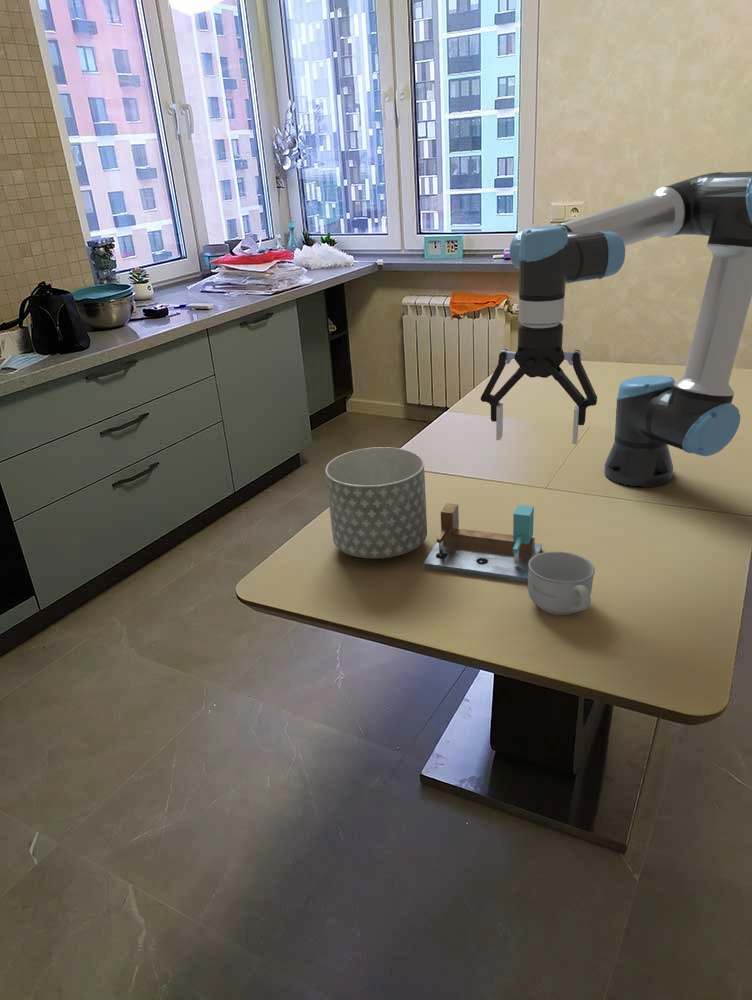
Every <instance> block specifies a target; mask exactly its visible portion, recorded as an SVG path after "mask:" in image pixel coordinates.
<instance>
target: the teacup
mask: <svg viewBox="0 0 752 1000" xmlns="http://www.w3.org/2000/svg"><path fill="white" fill-rule="evenodd" d="M528 567H529V572H528V583H527V590H528V596H529V598H530V599H531V601H532V602H533V604H535V605H536V606H538V607H539V608H540V609H541V610H543V611H544V612H546V613H548V614H551V615H556V616H565V615H566V616H567V615H571V614H573V613H578V612H581V611H585V610H587V609H589V607H590V605H591V603H592V601H591V599H592V597H591V595H592V594H591V593H592V589H593V582H594V575H595V572H596V568H595V565H594V564H593V562H592V561H590V560H589V559H587V558H585V557H584V556H582V555H579V554H576V553H573V552H568V551H567V552H566V551H555V550H554V551H545V552H541V553H540V554H537V555H535V556H533V557H532V558H531V559H530V560H529V563H528Z"/></svg>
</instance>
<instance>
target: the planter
mask: <svg viewBox="0 0 752 1000" xmlns="http://www.w3.org/2000/svg"><path fill="white" fill-rule="evenodd" d="M325 480H326V487H327V499H328V505H329V515H330V516H329V517H330V523H331V533H332V534H331V535H332V540H333V545H334V546H336V548H338V550H339V551H341V552H343V553H344V554H347V555H349V556H353V557H357V558H361V559H362V558H363V559H386V558H392V557H398V556H401V555H404V554H407V553H410V552H412V551H414V550H415V549H417V548H418V547H420V546H421V545H422V544H423V543H424V542H425V541H426V539H427V535H428V521H427V519H428V518H427V501H426V500H427V499H426V496H427V495H426V473H425V462H424V459H423V458H422V457H421V455H419V454H417V453H416V452H413V451H411V450H408V449H404V448H399V447H389V446H388V447H385V446H382V447H381V446H378V447H377V446H375V447H367V448H366V447H365V448H359V449H356V450H351V451H347V452H345V453H343V454H341V455H338V456H335V458H333V459H332V460H330V461H329V462H328V463H327V465H326V466H325Z"/></svg>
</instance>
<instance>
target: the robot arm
mask: <svg viewBox="0 0 752 1000" xmlns="http://www.w3.org/2000/svg"><path fill="white" fill-rule="evenodd" d="M679 235H680V236H681V235H694V236H695V235H696V236H707V237H708V240H707V245H706V246H707V247H708V249H709V251H711V253H712V260H711V263H710V268H709V272H708V275H707V279H706V282H705V283H706V285H705V288H704V293H703V296H702V299H701V303H700V304H701V305H700V308H699V312H698V317H697V320H696V323H695V328H694V333H693V337H692V341H691V345H690V349H689V354H688V358H687V363H686V366H685V369H684V374H683V376H682V377H681V378H680V379H678V380H677V381H676V380H675V379H674V378H673V377H672V376H668V375H656V374H655V375H640V376H635V377H634V376H633V377H630V378H627V379H625V380H623V381H621V383H620V384H619V387H618V394H617V397H616V411H615V428H614V429H615V430H614V442H613V444H612V446H611V449H610V451H609V453H608V455H607V458H606V460H605V462H604V469H603V470H604V471H603V472H604V473H605V474H604V476H605V475H606V476H607V477H608V478H609V479H608V478H607V477H606V476H605V477H606V478H607V479H608V480H610V479H611V480H610V481H612V482H614V481H615V482H614V483H616V482H617V483H616V484H619V483H621V484H620V485H622V484H624V486H627V485H630V486H629V487H633V486H642V487H641V488H652V487H651V486H654V487H659V486H663V485H665V483H666V484H668V483H669V482H670V481H671V480H672V479H673V476H674V475H673V474H674V465H673V464H674V463H673V461H672V457H671V452H670V449H669V446H671V447H674V448H677V449H678V450H682V451H684V452H686V453H687V454H694V455H697V456H700V457H709V456H714V455H715V454H717V453H719V452H721V451H722V450H723V449H725V447H726V446H728V445H729V443H731V441H732V440H733V438H735V436H736V434H737V431H738V430H739V426H740V423H741V414H740V409H739V408H738V407H737V406H736V405H735V404H733V399H734V395H735V391H734V390H733V388H732V387H731V386H730V383H729V382H730V378H731V376H732V372H733V368H734V364H735V360H736V357H737V353H738V352H737V351H738V350H739V349H738V348H739V344H740V340H741V338H742V334H743V330H744V327H745V322H746V318H747V315H748V311H749V308H750V303H751V300H752V171H736V172H735V171H733V172H732V171H731V172H723V171H722V172H719V171H718V172H717V171H716V172H710V173H705V174H700V175H697V176H694V177H691V178H688V179H685V180H681V181H678V182H675V183H672V184H670V185H666V186H663V187H659V188H658V189H656V190H654V192H653V193H651V194H650V196H647V197H645V198H641V199H638V200H636V201H635V200H634V201H631V202H628V203H624V204H621V205H618V206H615V207H611V208H608V209H605V210H601V211H598V212H596V213H595V212H594V213H592V214H589V215H585V216H581V217H579V218H574V219H571V220H568V221H565V222H562V223H559V224H555V225H540V226H539V225H537V226H531V227H526V228H525V229H522V230H520V231H518V232H517V233H516V234H515V235H514V237H513V238H512V239H511V241H510V245H509V258H510V261H511V264H512V265H513V266H514V267H515V268H516V269H518V270H519V271H518V275H519V277H518V278H519V279H518V283H519V284H518V318H517V320H518V323H519V322H520V324H519V325H518V326H517V349H516V351H511V350H510V351H509V350H508V349H506V348H503V349H501V351H500V352H499V354H498V355H499V356H498V361H497V366H496V367H495V369H494V371H493V374H492V376H491V378H490V379H489V381H488V383H487V384H486V386H485V388H484V390H483V391H482V394H481V397H480V401H481V402H482V403H485V402H486V403H488V404H489V405H490V420H491V422H494V423H495V422H496V423H495V424H496V426H495V427H496V430H495V432H496V433H495V436H496V439H495V440H496V441H501V439H502V438H503V431H504V430H503V429H504V427H503V426H504V425H503V423H504V417H503V416H504V402H503V401H501V400H502V399H504V397H505V396H506V395H507V394H508V392H509V391H511V389H512V388H513V387H514V386H515V385H516V384H517V383H518V382H519V381H520V380H521V379H522V378H523V377H524V375H526V376H528V377H529V378H542V379H548V378H549V377H550V376H551V377H552V378H553V379H554V380H555V381H556V382H558V384H559V385H560V386H561V387H562V388H563V390H564V391H565V392H566V393H567V395H568V396H569V397H570V398H571V399H572V401H573V402H574V403H575V404H574V409H573V422H572V423H573V427H572V445H577V444H578V436H579V426H584V425H585V422H586V416H587V414H586V413H587V409H588V408H589V407H592V406H593V407H594V406H596V405H597V403H598V396H597V394H596V391H595V389H594V387H593V385H592V383H591V381H590V378H589V376H588V374H587V372H586V370H585V368H584V365H583V363H582V357H581V356H582V354H581V353H582V352H581V350H580V349H575V350H574V351H569V352H564V350H563V337H564V336H563V334H564V325H563V323H562V321H564V318H565V317H564V315H565V313H564V312H565V297H566V295H565V293H566V284H571V283H578V282H585V281H591V280H596V279H597V280H602V279H604V278H606V277H607V278H608V277H611V276H613V275H615V274H617V273H618V272H619V271H621V268H622V267H623V266H624V262H625V259H626V246H629V245H632V244H636V243H638V242H642V241H645V240H649V239H651V238H654V237H659V238H663V239H668V238H672V237H674V236H679ZM512 360H514V361H515V362H516V363H517V364H518V368H517V369H516V371H515V372H514V373H513V374H512V375H511V376H510V377H509V378H508V379H507V381H506V382H505V383H504V384H503V385H502V386H501V388H500V389H498V390H497V392H496V393H495V394H491V393H492V391H493V390H494V387H495V385H496V384H497V382H498V380H499V378H500V376H501V375H502V372H503V371H504V368H505V367H506V365H508V364H510V363H511V361H512ZM564 361H567V363H568V365H569V366H572V367H573V370H574V373H575V375H576V377H577V379H578V381H579V383H580V385H581V388H582V390H583V392H584V395H585V396H583V394H582V393H581V391H580V390H579V389H578V388H577V387H576V385H575V384H574V383H573V382H572V381H571V380H570V378H569V377H568V376H567V375H566V373H565V372H564V371H563V370H564V369H562V367H561V364H563V362H564Z"/></svg>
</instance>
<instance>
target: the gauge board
mask: <svg viewBox="0 0 752 1000" xmlns="http://www.w3.org/2000/svg"><path fill="white" fill-rule="evenodd" d="M459 518H460V517H459V504H458V503H450V502H447V503H445V505H444V506H443V508H442V509H441V510H440V529H441V530H440V533H439V534H438V536H437V538H436V543H435V544H434V546H433V548H432V549H431V551H430V552H429V554H428V555H427V557H426V559H425V560H424V561H423V569H426V570H430V571H431V570H432V571H439V572H446V573H452V574H461V575H466V576H472V577H473V576H475V577H481V578H486V579H494V580H495V579H496V580H501V581H508V582H516V583H523V584H528V572H529V567H528V563H529V560H530V559H531V558H532V557H533V556H535V555H537V554H540V553H542V550H543V543H538V542H536V541H535V540H536V538H535V537H532V538H531V540H530V543H529V544H524V543H521V545H520V548H519V564H514V553H513V547H514V545H515V543H516V542H513V534H506V533H505V534H504V533H498V532H497V533H496V532H491V531H490V532H489V531H482V530H481V531H480V530H473V529H465V528H459V527H460V525H459V524H460V520H459Z"/></svg>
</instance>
